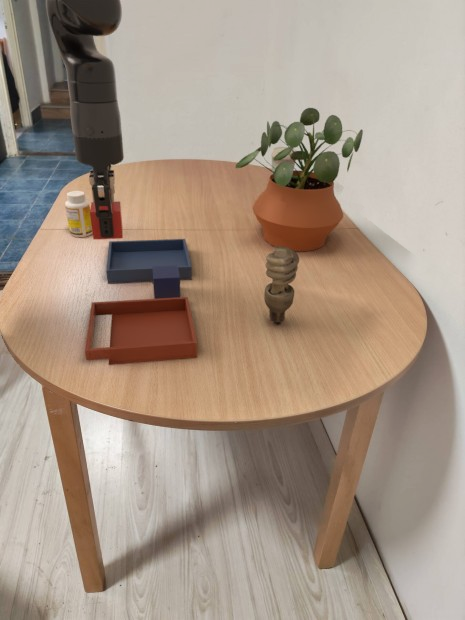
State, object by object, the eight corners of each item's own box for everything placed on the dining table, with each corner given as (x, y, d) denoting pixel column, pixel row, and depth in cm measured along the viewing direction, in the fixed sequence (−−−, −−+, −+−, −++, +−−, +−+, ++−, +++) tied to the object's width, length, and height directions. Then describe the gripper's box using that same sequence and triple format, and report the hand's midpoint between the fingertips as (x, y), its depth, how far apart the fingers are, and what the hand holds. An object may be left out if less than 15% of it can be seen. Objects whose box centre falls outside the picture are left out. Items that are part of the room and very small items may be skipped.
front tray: (87, 366, 71) (84, 351, 69) (93, 316, 82) (91, 302, 81) (197, 357, 74) (197, 342, 72) (188, 310, 85) (187, 296, 84)
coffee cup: (264, 188, 149) (267, 150, 143) (272, 181, 156) (276, 145, 149) (289, 192, 147) (293, 154, 140) (296, 185, 153) (301, 148, 147)
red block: (93, 239, 79) (89, 212, 76) (94, 228, 83) (91, 201, 80) (122, 238, 80) (120, 211, 77) (122, 227, 84) (120, 201, 81)
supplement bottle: (90, 227, 116) (85, 188, 110) (95, 236, 112) (90, 195, 106) (68, 230, 114) (61, 190, 108) (71, 239, 109) (65, 198, 104)
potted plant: (355, 255, 109) (383, 122, 93) (242, 264, 102) (251, 123, 86) (317, 219, 127) (335, 104, 111) (219, 225, 121) (223, 103, 104)
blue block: (154, 301, 88) (153, 278, 85) (153, 288, 92) (152, 266, 89) (180, 299, 88) (179, 277, 86) (178, 287, 93) (177, 265, 90)
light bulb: (282, 335, 80) (292, 258, 72) (254, 325, 82) (261, 250, 74) (295, 320, 84) (305, 246, 76) (268, 311, 86) (276, 238, 78)
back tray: (107, 283, 92) (106, 270, 91) (110, 253, 104) (109, 241, 102) (191, 279, 95) (191, 266, 94) (185, 250, 107) (185, 238, 105)
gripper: (121, 141, 67) (130, 246, 76) (121, 121, 78) (128, 214, 88) (68, 141, 65) (83, 248, 74) (76, 120, 77) (88, 216, 86)
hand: (107, 229), depth 81 cm, fingers closed on red block, 5 cm apart
